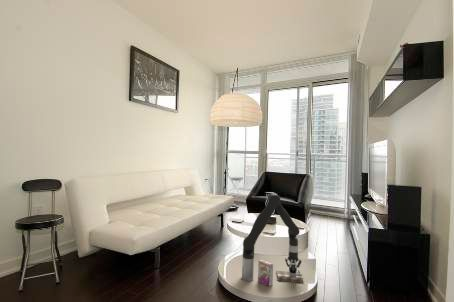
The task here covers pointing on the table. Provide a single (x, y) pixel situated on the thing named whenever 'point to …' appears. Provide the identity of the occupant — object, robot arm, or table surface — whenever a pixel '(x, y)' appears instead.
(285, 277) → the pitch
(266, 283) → the candy bar box
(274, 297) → the table surface
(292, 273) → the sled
